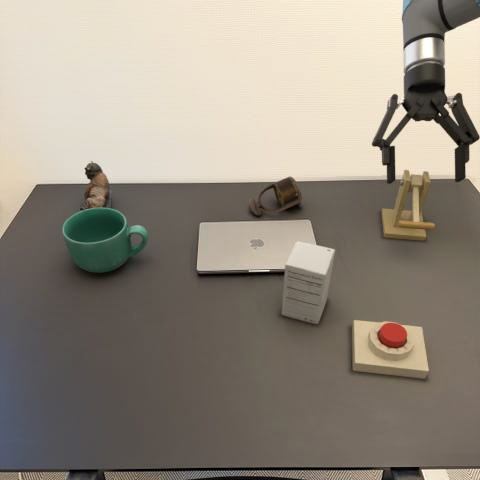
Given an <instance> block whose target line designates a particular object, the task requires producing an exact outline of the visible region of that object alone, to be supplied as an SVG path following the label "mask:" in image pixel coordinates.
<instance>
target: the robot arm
mask: <svg viewBox="0 0 480 480" xmlns="http://www.w3.org/2000/svg"><path fill="white" fill-rule="evenodd" d="M479 18H480V0H402V13H401V21H402V22H401V23H402V37H403V38H402V42H403V49H402V50H403V51H402V55H403V56H402V57H403V58H402V59H403V60H402V62H403V74H404V75H403V97H402V96H399V95H398V94H397V93H393V94H392V95H391V96H390V98H389V99H388V100H387V106H386V111H385V114H384V115H383V118H382V120H381V122H380V124H379V127H378V128H377V131H376V132H375V135H374V136H373V139H372V141H371V146H372V147H373V148H379V150H380V151H381V164H382V166H386V185H387V184H388V185H390V184H392V183H394V182H395V181H396V179H397V178H396V145H391V144H392V143H393V142H394V141H395V139H396V138H397V137H398V136H399V134H400V133H401V132H402V131H403V130H404V128H405V127H406V126H407V124H408V123H409V122H410V121H411V119H412V120H413V121H414V122H422V121H425V122H431V121H434V123H436V124H438V125H439V126H440V128H442V130H444V132H445V133H446V134H447V135H448V136H449V137H450V139H451V140H452V141H453V142H454V143H455V144H456V146H457V147H455V148H454V182H455V183H460V182H462V181H463V180H465V179H466V175H467V174H466V164H468V163H469V162H470V145H471V146H472V145H473V144H475V143H476V142H478V141H479V140H480V134H479V132H478V130H477V128H476V127H475V125H474V123H473V121H472V119H471V116H470V115H469V112H468V110H467V108H466V107H465V105H464V99H463V94H462V93H461V92H457V93H456V94H454V95H450V96H449V95H447V94H446V68H445V65H446V52H445V51H446V48H445V47H446V46H445V44H446V43H445V42H446V41H445V36H446V33H448V32H450V31H453V30H455V29H457V28H458V27H461V26H463V25H466V24H469V23H470V22H473V21H475V20H477V19H479ZM446 105H447V106H448V109H450V110H451V113H452V116H453V118H452V116H451V115H450V112H449V110H448V109H447V108H446V107H445V106H446ZM400 106H402V108H403V109H404V110H405V112H406V114H405V115H403V117H402V118H401V119H400V121H399V122H398V123H397V125H396V126H395V127H394V128H393V130H392V131H391V132H390V133H389V135H388V136H387V137H386V139H384V136H385V134H386V131H387V130H388V127H389V125H390V123H391V121H392V119H393V117H394V115H395V113H396V110H398V109H399V108H400ZM454 119H455V120H454Z"/></svg>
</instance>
